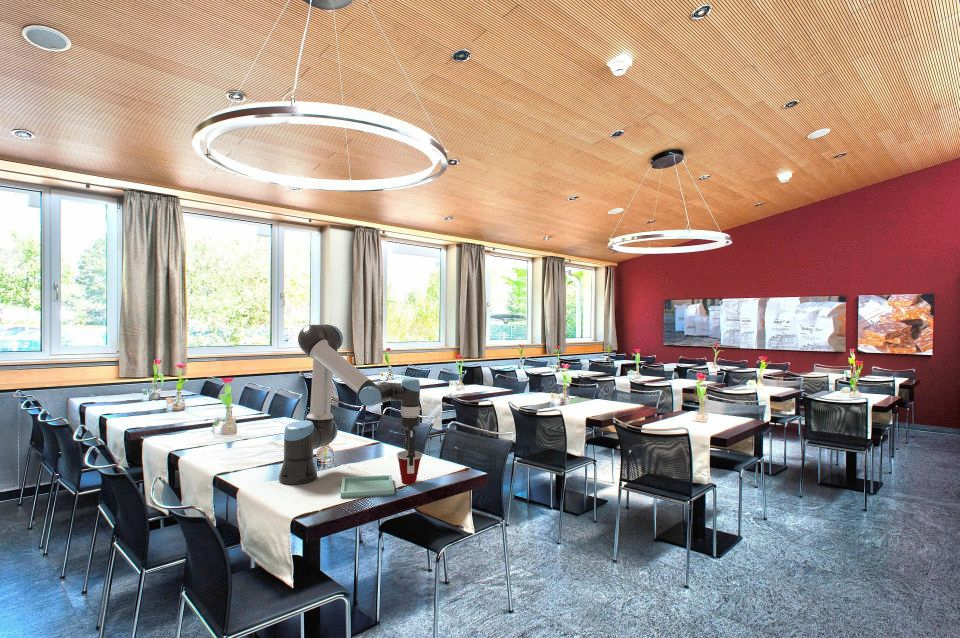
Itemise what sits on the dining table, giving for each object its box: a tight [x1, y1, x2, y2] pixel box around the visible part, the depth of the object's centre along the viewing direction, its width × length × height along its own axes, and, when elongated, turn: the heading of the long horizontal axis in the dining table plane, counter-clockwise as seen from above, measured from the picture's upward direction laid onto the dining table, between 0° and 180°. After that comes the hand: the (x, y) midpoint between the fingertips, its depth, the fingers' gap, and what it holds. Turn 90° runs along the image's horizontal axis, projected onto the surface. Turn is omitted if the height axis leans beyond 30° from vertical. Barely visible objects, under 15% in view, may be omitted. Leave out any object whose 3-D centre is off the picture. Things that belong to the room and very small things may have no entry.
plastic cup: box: [396, 450, 423, 485], centre depth 219 cm, size 11×11×12 cm
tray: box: [340, 474, 395, 499], centre depth 210 cm, size 20×20×2 cm
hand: (409, 469), depth 219 cm, fingers closed on plastic cup, 11 cm apart
